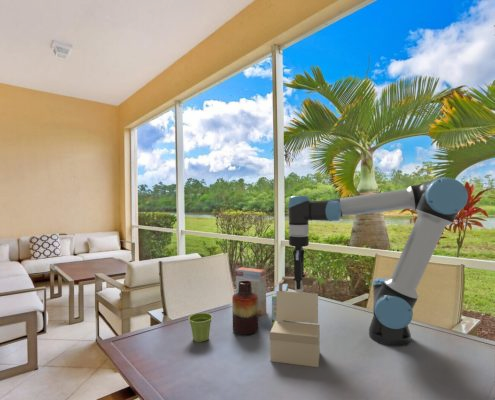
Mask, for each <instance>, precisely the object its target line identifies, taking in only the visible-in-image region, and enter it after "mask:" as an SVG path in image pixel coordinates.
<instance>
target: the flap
mask: <svg viewBox="0 0 495 400" xmlns="http://www.w3.org/2000/svg"><path fill="white" fill-rule="evenodd" d="M293 279H294V276H282V277H281V280H280V281H279V283H278V284H279V290H277V291H276V320H285V321H286V322H295V323H305V324H316V325H319V293H318V292H316V286H317V278H314V277H302V285H303V286H311V292H309V291H307V292H306V291H303V292H295V290H294V291H293V290H288V291H282V285H283V284H288V285H295V280H293Z"/></svg>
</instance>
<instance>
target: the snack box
mask: <svg viewBox="0 0 495 400" xmlns="http://www.w3.org/2000/svg"><path fill="white" fill-rule="evenodd" d="M277 290H279V283H277V284H276V287H275V289H274V292H273V294H272V297H271V328H272V327H273V325H274V323H275V321H283V322H287V321H285V320H276V291H277ZM282 291H289V284H283V285H282Z"/></svg>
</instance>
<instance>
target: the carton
mask: <svg viewBox="0 0 495 400" xmlns="http://www.w3.org/2000/svg"><path fill="white" fill-rule="evenodd" d="M320 330H321V329H320V324H316V323H305V322H295V321H286V322H283V321H275V323H274V325H273V327H272V326H271V329H270V331H269V346H270V347H269V350H270V351H269V353H270V355H269V356H270V359H269V360H270V362H275V363H281V364H282V363H283V364H289V365H290V364H291V365H298V366H304V367H313V368H319V363H320V353H321V348H320V343H321V341H320Z"/></svg>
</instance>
